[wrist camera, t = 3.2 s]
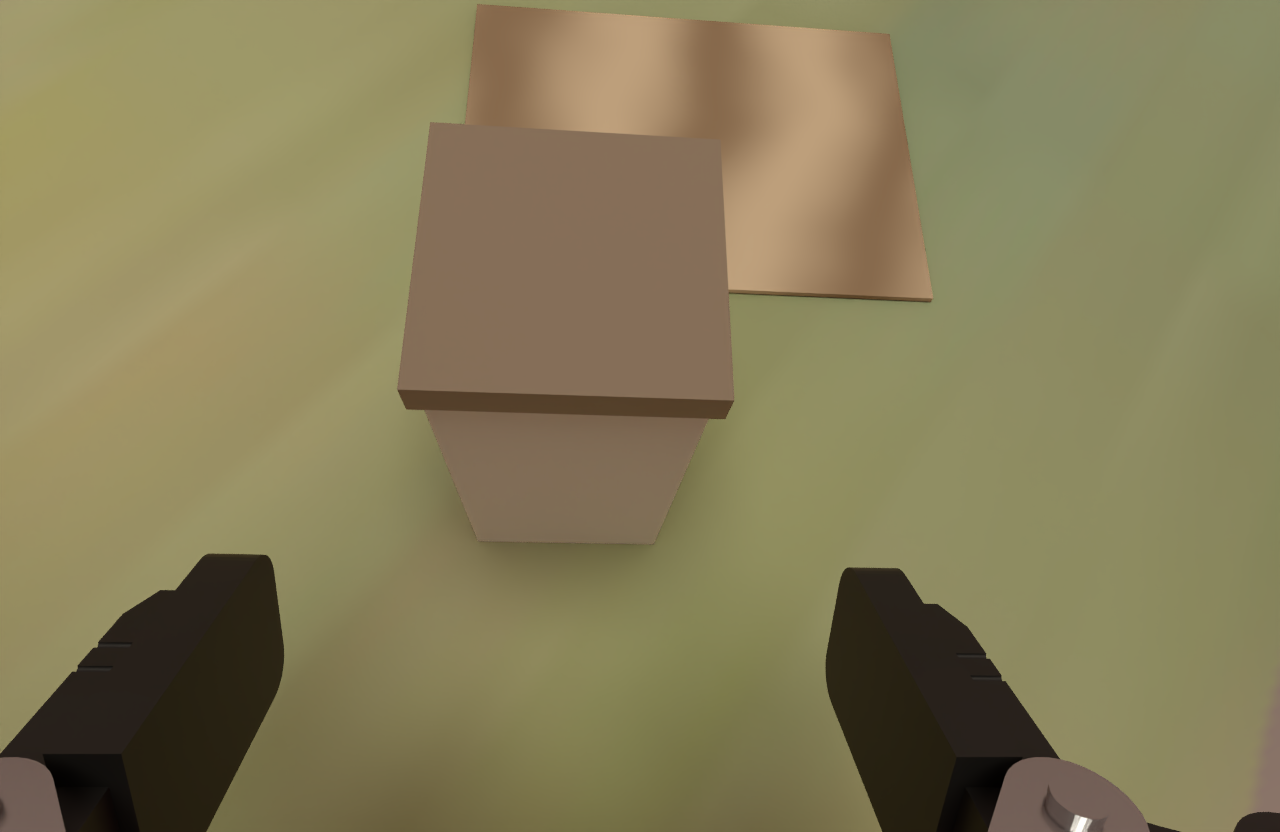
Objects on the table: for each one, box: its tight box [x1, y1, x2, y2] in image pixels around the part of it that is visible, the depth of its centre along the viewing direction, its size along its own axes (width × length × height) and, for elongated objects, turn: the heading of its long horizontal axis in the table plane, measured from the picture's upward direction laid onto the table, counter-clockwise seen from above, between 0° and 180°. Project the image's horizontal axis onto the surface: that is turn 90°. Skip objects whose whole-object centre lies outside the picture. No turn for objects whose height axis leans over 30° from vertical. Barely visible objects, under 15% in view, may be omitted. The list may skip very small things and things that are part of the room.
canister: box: [397, 122, 734, 544], centre depth 19 cm, size 5×5×11 cm
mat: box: [465, 4, 933, 302], centre depth 29 cm, size 16×12×1 cm
